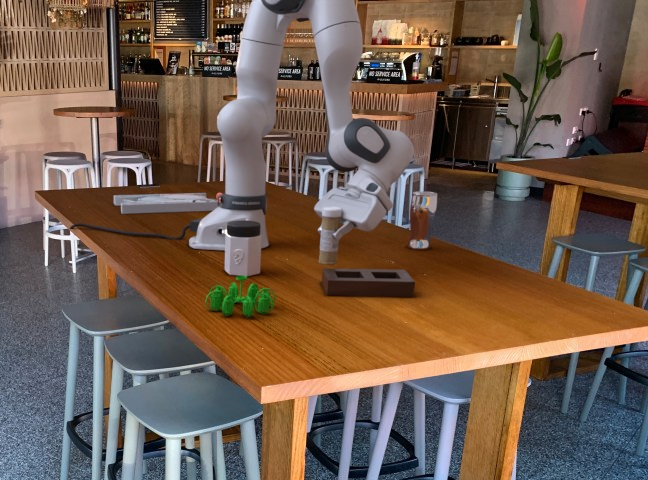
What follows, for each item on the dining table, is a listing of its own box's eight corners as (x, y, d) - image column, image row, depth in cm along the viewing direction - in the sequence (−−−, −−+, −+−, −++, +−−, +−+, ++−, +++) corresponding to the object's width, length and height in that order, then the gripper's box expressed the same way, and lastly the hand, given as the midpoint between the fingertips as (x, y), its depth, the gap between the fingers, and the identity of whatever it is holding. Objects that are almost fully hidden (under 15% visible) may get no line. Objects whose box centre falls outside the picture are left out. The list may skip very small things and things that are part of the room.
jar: (220, 274, 192) (221, 225, 187) (228, 267, 199) (230, 219, 195) (256, 277, 189) (258, 227, 185) (263, 269, 197) (265, 221, 192)
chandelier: (255, 324, 156) (256, 290, 154) (191, 312, 163) (191, 279, 161) (288, 306, 168) (290, 274, 165) (227, 295, 175) (227, 264, 173)
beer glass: (432, 251, 218) (439, 195, 212) (406, 249, 219) (412, 194, 213) (430, 245, 224) (437, 191, 218) (405, 244, 225) (411, 190, 219)
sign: (220, 210, 273) (206, 200, 291) (220, 201, 272) (206, 192, 290) (121, 213, 266) (113, 203, 284) (121, 204, 264) (113, 195, 282)
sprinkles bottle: (329, 260, 196) (334, 205, 190) (340, 264, 192) (345, 208, 187) (314, 262, 194) (318, 206, 189) (325, 266, 190) (329, 209, 185)
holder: (413, 297, 175) (415, 281, 174) (326, 295, 176) (328, 280, 174) (403, 284, 185) (404, 269, 184) (321, 282, 186) (322, 268, 184)
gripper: (330, 176, 197) (295, 219, 196) (385, 188, 180) (347, 235, 180) (343, 193, 201) (309, 235, 200) (398, 207, 184) (361, 252, 184)
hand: (327, 235), depth 190 cm, fingers closed on sprinkles bottle, 4 cm apart
